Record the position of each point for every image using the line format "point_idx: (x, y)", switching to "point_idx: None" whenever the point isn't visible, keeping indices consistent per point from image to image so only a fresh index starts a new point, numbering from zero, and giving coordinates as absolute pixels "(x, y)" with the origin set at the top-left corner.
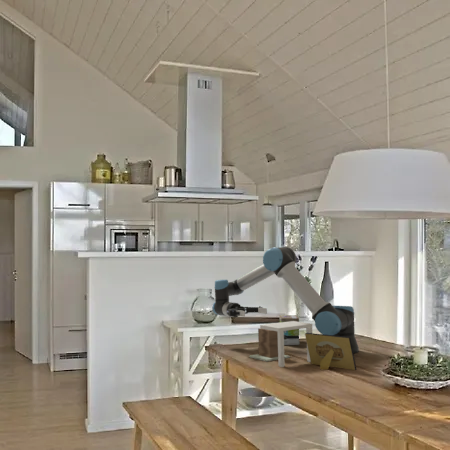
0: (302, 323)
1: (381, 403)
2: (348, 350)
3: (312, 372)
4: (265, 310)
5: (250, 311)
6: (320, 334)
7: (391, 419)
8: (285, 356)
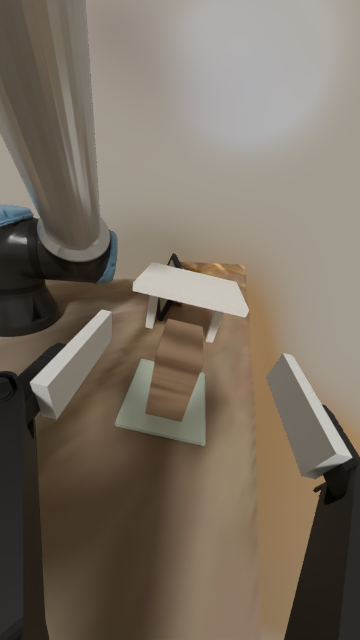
0: (159, 269)
1: (223, 274)
2: None
3: (200, 308)
4: (110, 324)
5: (37, 548)
6: (179, 266)
7: (237, 271)
8: (151, 362)
